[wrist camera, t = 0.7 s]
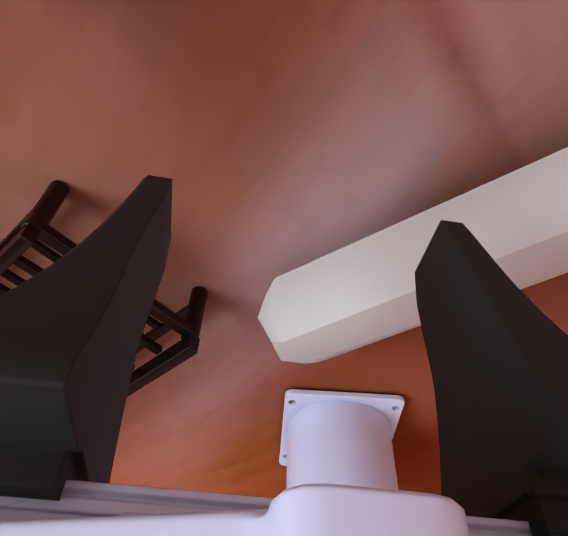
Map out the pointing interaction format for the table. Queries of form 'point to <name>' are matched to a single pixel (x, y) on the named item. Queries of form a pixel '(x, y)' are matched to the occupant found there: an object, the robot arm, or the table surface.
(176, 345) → the shoe rack
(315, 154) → the table surface
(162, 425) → the table surface
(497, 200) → the tube
